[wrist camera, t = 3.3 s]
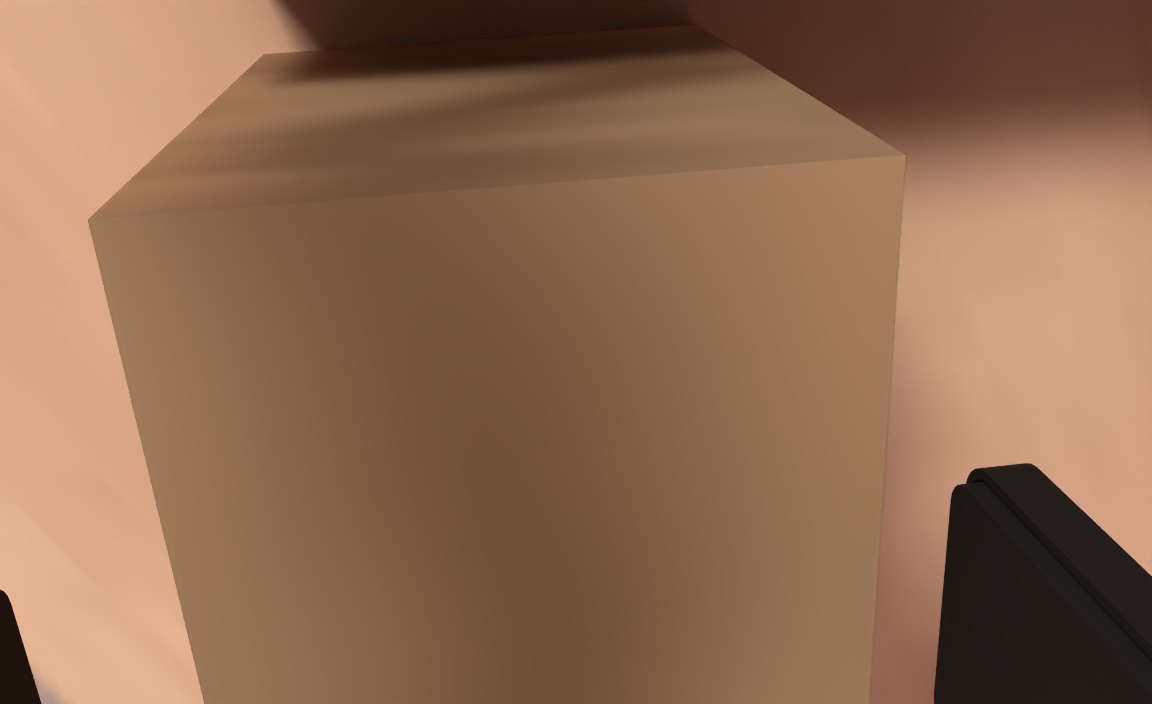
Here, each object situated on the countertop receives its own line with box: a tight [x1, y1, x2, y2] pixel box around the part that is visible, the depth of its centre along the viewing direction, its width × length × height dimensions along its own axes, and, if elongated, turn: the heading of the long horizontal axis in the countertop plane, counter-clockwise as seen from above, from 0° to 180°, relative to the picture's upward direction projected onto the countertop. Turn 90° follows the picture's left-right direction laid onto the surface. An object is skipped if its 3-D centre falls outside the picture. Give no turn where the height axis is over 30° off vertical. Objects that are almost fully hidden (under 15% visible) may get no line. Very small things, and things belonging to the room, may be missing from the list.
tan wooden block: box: [88, 24, 906, 704], centre depth 14 cm, size 6×10×8 cm, turn 3°
